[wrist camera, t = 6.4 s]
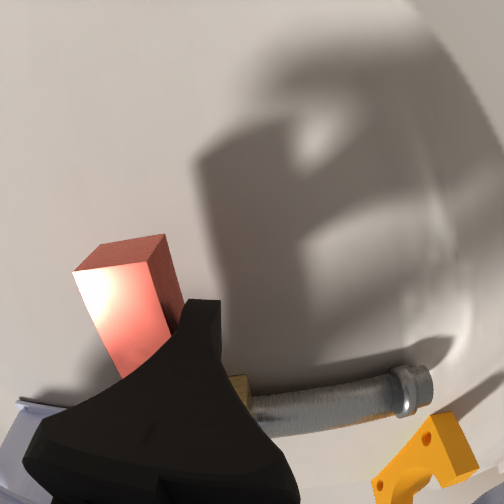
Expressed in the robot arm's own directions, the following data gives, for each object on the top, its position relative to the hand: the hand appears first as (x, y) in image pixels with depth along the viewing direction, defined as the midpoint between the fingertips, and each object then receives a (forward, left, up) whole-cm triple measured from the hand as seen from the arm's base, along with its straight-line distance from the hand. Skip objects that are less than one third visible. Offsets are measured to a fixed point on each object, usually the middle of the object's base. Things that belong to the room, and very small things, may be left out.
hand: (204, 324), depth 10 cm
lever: (-2, -4, -1) cm, 4 cm away
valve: (+1, -9, -4) cm, 10 cm away
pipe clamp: (+14, -22, -4) cm, 26 cm away
